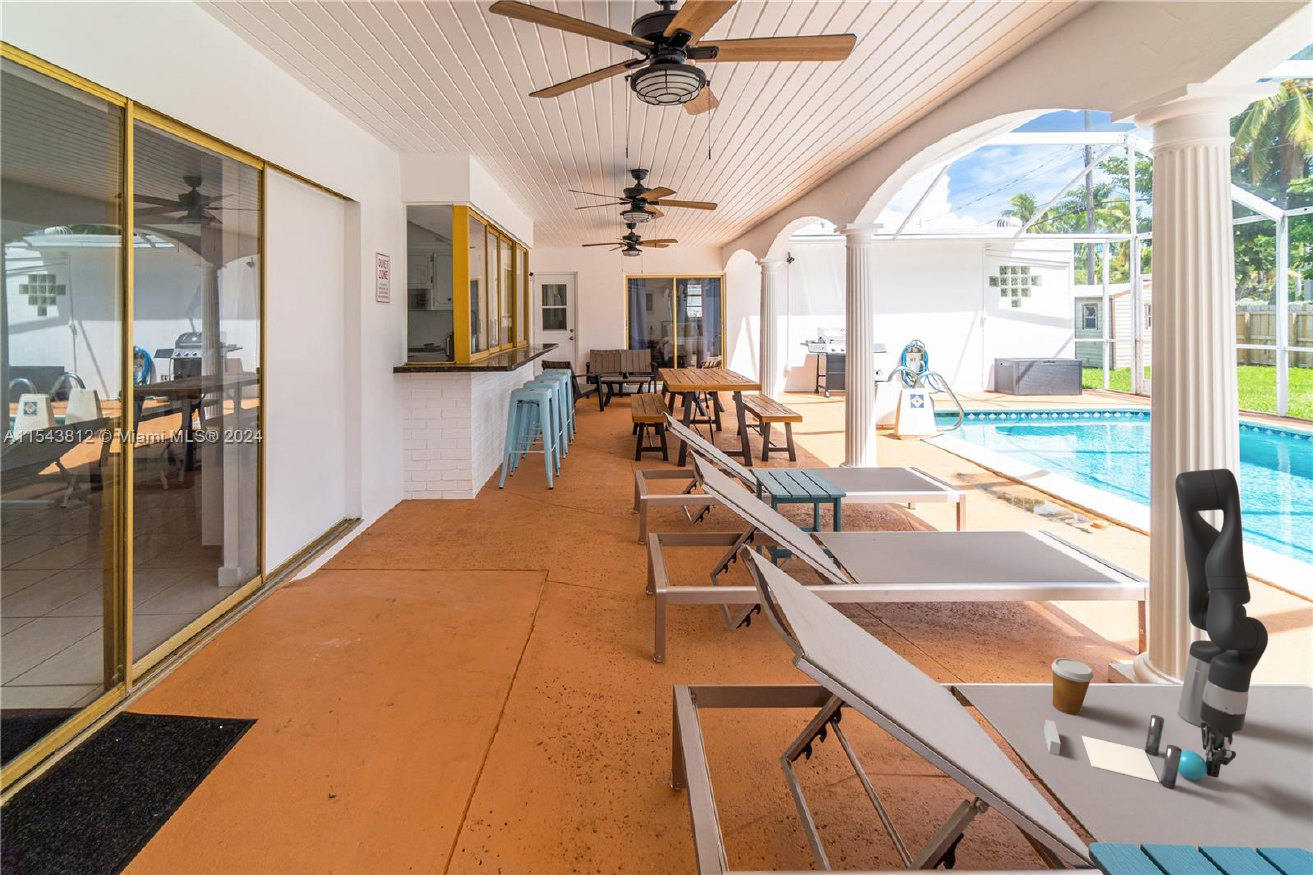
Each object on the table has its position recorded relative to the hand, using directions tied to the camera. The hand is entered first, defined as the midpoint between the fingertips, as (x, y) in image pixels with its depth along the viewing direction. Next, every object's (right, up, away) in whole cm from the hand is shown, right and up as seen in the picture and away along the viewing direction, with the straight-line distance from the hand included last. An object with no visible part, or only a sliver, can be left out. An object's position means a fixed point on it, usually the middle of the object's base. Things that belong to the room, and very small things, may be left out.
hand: (1211, 775), depth 155 cm
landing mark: (-16, 0, +7) cm, 18 cm away
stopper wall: (-29, +2, +13) cm, 31 cm away
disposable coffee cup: (-16, +4, +29) cm, 33 cm away
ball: (-4, +2, +1) cm, 4 cm away
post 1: (-6, 0, +10) cm, 12 cm away
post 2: (-11, -1, -2) cm, 11 cm away
